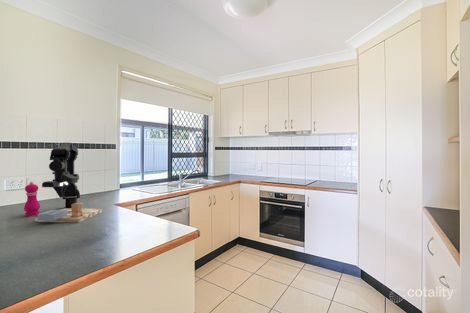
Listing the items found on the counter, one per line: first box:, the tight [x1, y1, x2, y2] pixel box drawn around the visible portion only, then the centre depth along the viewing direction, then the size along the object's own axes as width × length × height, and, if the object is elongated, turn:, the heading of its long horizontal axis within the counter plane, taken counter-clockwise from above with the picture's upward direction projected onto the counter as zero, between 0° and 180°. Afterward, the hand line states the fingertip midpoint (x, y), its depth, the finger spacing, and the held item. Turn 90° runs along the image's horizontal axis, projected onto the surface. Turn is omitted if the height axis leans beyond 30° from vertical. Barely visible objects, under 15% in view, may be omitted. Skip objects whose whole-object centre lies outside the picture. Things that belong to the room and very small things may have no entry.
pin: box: [71, 202, 83, 217], centre depth 127 cm, size 4×4×9 cm
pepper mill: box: [23, 181, 41, 217], centre depth 135 cm, size 7×7×20 cm
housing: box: [36, 209, 67, 220], centre depth 124 cm, size 9×9×3 cm
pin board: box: [34, 207, 103, 223], centre depth 133 cm, size 20×24×2 cm
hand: (61, 197), depth 129 cm, fingers closed
